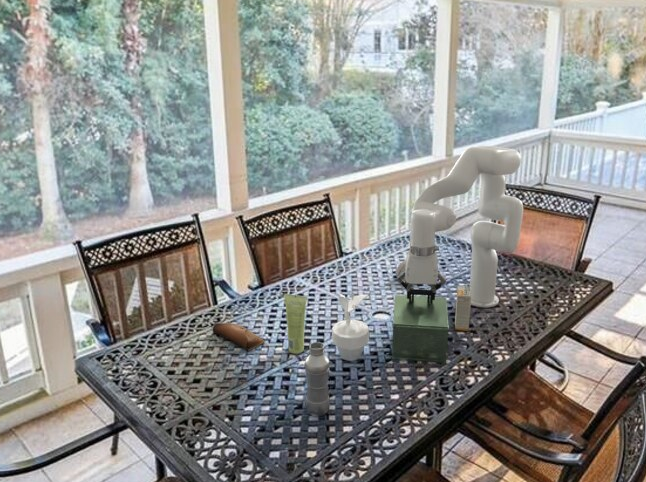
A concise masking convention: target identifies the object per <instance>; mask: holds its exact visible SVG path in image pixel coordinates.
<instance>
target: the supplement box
mask: <svg viewBox="0 0 646 482" xmlns="http://www.w3.org/2000/svg"><path fill="white" fill-rule="evenodd" d="M456 287H457V288H456V299H455V300H456V301H455V315H454V330H457V331H464V332H466V331H467V332H469V329H470V320H471V319H470V318H471V306H472V305H471V287H470V286H467V285H466V286H465V285H457V286H456Z"/></svg>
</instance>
